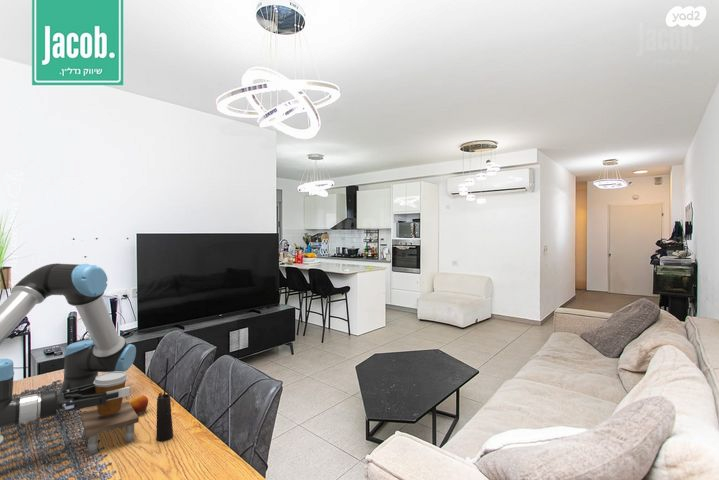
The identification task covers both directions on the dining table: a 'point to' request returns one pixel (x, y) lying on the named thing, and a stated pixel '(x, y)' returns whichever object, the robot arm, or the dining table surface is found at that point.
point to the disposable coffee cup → (108, 384)
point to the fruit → (139, 403)
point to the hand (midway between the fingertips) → (126, 386)
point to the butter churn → (164, 415)
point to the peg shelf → (108, 424)
